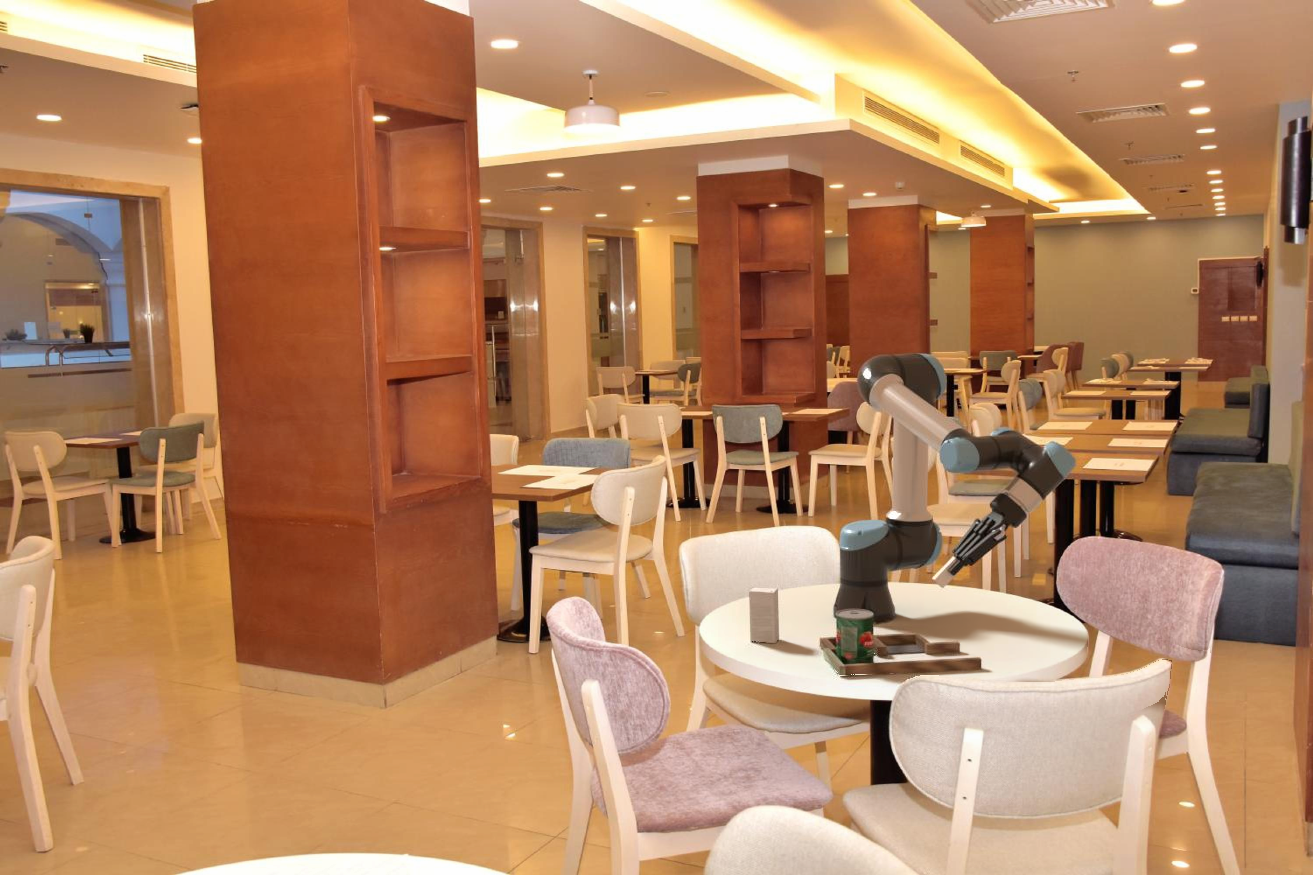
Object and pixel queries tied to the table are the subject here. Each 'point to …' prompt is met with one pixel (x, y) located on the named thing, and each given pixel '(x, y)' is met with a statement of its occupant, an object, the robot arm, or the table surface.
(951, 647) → the wooden rail frame
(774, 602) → the skincare box
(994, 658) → the table surface
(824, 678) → the table surface
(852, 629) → the canned tomato
